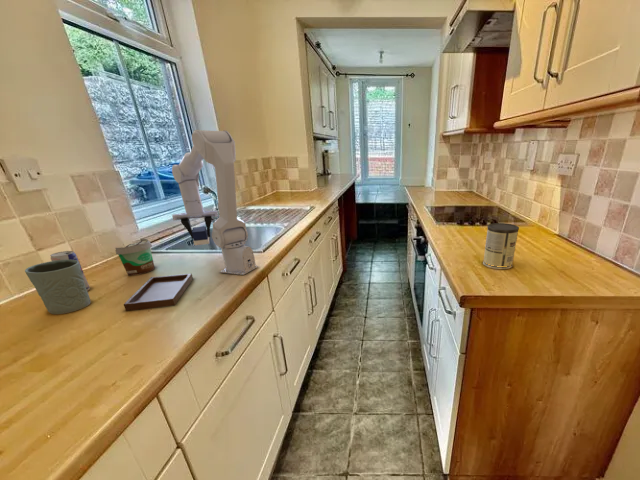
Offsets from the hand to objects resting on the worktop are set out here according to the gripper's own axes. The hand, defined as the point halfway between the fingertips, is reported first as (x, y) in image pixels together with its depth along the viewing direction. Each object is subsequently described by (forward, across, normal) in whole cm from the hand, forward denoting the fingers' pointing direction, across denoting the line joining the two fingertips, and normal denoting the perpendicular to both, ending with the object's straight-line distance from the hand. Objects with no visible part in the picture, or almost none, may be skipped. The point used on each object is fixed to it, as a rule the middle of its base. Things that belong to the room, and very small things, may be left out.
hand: (201, 237), depth 120 cm
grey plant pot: (+9, +33, +28) cm, 44 cm away
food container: (+9, +19, +5) cm, 21 cm away
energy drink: (+9, +34, +16) cm, 39 cm away
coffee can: (+9, -95, +57) cm, 111 cm away
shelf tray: (+8, +11, +30) cm, 33 cm away
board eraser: (+1, 0, 0) cm, 1 cm away
